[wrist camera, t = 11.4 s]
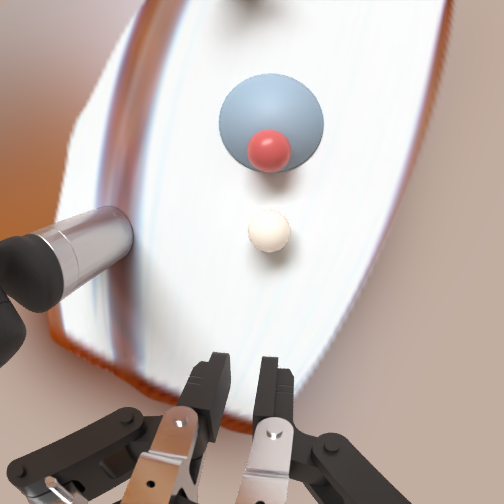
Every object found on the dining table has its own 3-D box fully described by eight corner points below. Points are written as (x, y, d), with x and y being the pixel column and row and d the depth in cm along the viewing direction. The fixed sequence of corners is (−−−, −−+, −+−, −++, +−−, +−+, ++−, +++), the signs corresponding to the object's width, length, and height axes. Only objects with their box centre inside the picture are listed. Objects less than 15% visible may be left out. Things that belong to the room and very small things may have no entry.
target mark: (251, 190, 39) (251, 190, 38) (201, 106, 36) (200, 106, 36) (341, 143, 35) (342, 143, 35) (289, 58, 32) (289, 57, 32)
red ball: (257, 167, 31) (258, 121, 30) (240, 173, 36) (240, 132, 35) (299, 171, 33) (299, 128, 32) (278, 176, 38) (278, 137, 37)
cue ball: (260, 213, 33) (264, 195, 38) (236, 246, 36) (243, 225, 40) (298, 238, 34) (298, 217, 39) (273, 267, 37) (276, 245, 42)
